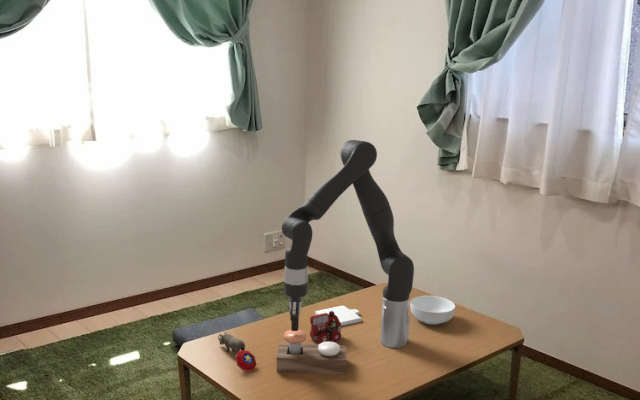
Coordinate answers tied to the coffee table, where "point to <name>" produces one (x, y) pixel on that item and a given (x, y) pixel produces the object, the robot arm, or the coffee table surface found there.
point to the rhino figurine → (231, 343)
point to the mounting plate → (343, 314)
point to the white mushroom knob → (328, 348)
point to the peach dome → (295, 340)
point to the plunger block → (310, 360)
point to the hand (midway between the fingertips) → (294, 330)
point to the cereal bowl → (432, 309)
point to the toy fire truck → (325, 327)
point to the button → (245, 360)
